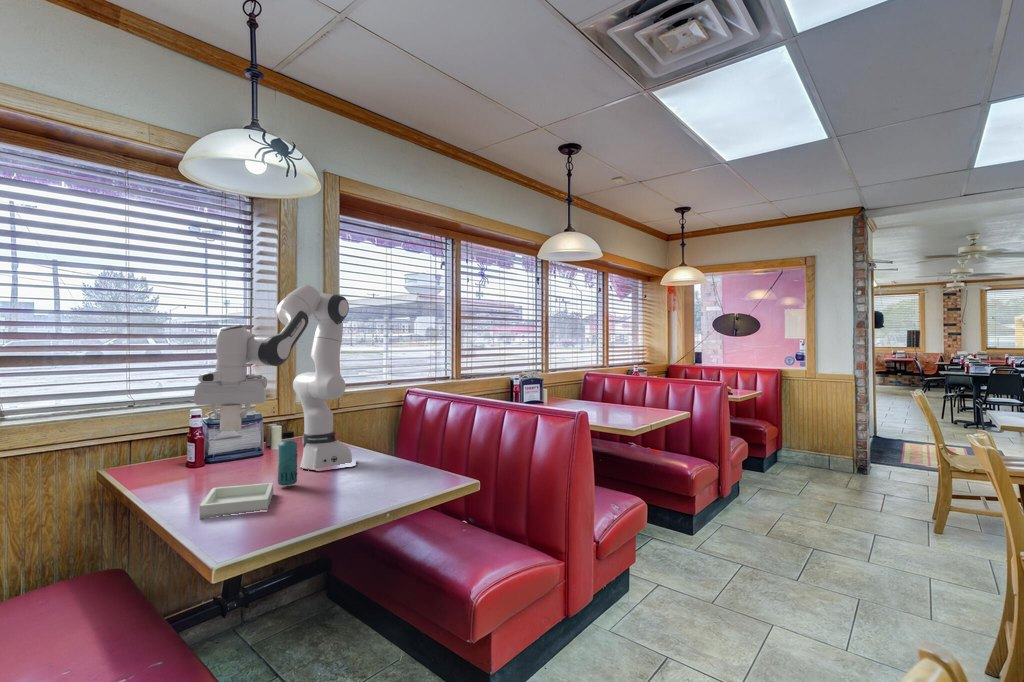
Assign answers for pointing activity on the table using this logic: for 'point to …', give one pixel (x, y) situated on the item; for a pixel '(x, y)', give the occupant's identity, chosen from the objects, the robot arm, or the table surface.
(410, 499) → the table surface
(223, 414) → the cup
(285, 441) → the beverage bottle
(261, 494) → the tray
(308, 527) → the table surface
